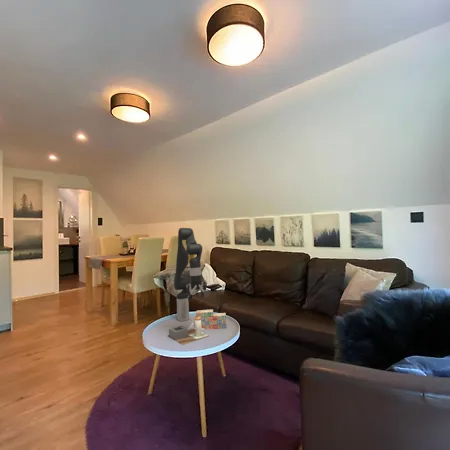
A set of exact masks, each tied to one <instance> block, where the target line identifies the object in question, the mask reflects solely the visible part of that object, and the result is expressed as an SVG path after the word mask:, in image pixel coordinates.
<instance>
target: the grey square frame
mask: <svg viewBox="0 0 450 450" xmlns="http://www.w3.org/2000/svg"><path fill="white" fill-rule="evenodd" d="M188 330H189V329H188V327H185V326H184V325H177V326H174V327H170V328H168V336H169V337H168V338H170V337H171V338H170V339H172V338H173V339H174V341H175V340H178V339H181V338H184V337H187V336H188ZM173 339H172V340H173Z"/></svg>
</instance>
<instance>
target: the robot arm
mask: <svg viewBox="0 0 450 450" xmlns="http://www.w3.org/2000/svg"><path fill="white" fill-rule="evenodd" d="M177 233H178V234H177V235H178V236H177V251H176V252H177V253H176V262H175V263H176V264H175V273H174V281H173V288H174V290H176V291H179V293H177V294H176V315H177V316H176V317H177V321H179V322H184V321H188V320H190V309H189V306H190V303H189V300H190V301H193V293H194V292H195V291H197V290H198V291H200V298H201V299H202V298H204V297H205V291H207V283H206V281H203V280H202V279H203V278H202V269H201V259H202V253H203V246H202V244H201V243H197V240H196V239H195V233H194V230H193V228H190V227H179V229H178V231H177ZM183 241H185V245H186V248H185V245H184V244H183ZM190 256H195V257H193V258H192V257H191V258H190ZM189 258H190V259H189ZM188 265H189V279H188V277H182V274H183V273H184V271H185V270H186V268H187V267H188ZM189 281H190V284H189Z"/></svg>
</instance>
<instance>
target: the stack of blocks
mask: <svg viewBox="0 0 450 450" xmlns="http://www.w3.org/2000/svg"><path fill="white" fill-rule="evenodd" d="M196 316H201V329H204V330H217V329H220V330H221V329H227V317H226V316H227V315H226V312H219V313H217V312H216V313H214V309H202V310H201V309H200V310H196V311H195V317H196Z"/></svg>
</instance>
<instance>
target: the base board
mask: <svg viewBox="0 0 450 450" xmlns="http://www.w3.org/2000/svg"><path fill="white" fill-rule="evenodd" d="M187 330H188V336H187V337H184V338H181V339H178V340H174V339H173V338H171V337H169V335H168V336H167V337H168V338H170V339H172V340H174V341H175V342H176V343H178V344H180V345H182V346H185V345H187V344H191V343H193V342H194V343H195V342H196V341H200V340H202V339H205V338H208V337H210V335H208V334H206V333H204V332H202V336H196V331H195V327H193V328H191V329H187Z"/></svg>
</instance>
